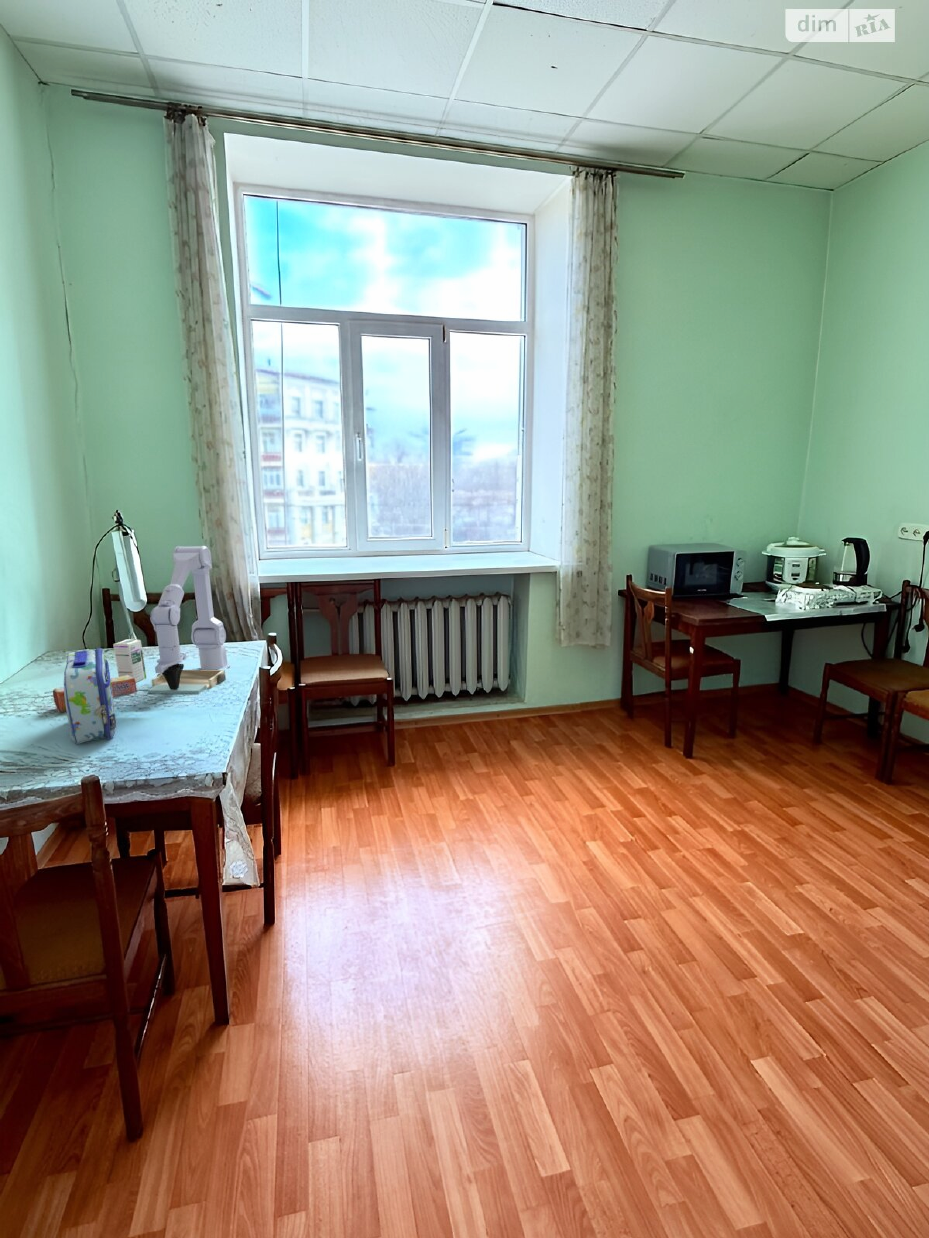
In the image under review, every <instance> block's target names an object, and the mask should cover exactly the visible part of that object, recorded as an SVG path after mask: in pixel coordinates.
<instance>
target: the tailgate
mask: <svg viewBox="0 0 929 1238" xmlns="http://www.w3.org/2000/svg"><path fill="white" fill-rule="evenodd" d="M206 689H208V688H207V686H206V685H179V688H178V689H170V688H169V685H155V686H154V687H152V686H151V688H149V689H147V693H148V694H190V695H191V694H193V695H195V694H197V695H198V694H201V693H203V691H205V690H206Z"/></svg>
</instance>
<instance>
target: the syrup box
mask: <svg viewBox="0 0 929 1238" xmlns="http://www.w3.org/2000/svg"><path fill="white" fill-rule="evenodd" d="M112 645H113V650H114V656H115V662H116V669H117V675H118V676H117V677H121V676H125V675H130V676H132V677H133V678H134V679H135V682H136V684H137V683H138V682H141V681H143V680H146V679H147V674H146V673H147V672H146V667H145V660H144V653H143V648H142V641H141V639H138V638H137V639H136V638H135V639H134V638H131V639H127V638H126V639H124V640H122V641H121V640H120V641H118V642H116V643H113V644H112Z"/></svg>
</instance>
